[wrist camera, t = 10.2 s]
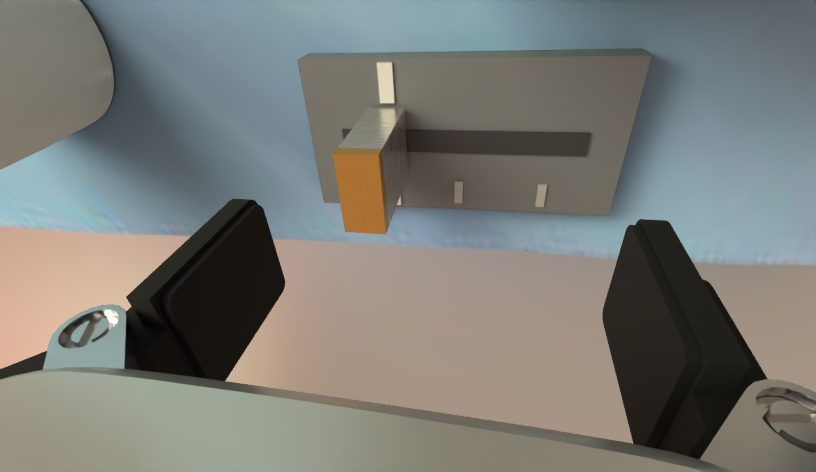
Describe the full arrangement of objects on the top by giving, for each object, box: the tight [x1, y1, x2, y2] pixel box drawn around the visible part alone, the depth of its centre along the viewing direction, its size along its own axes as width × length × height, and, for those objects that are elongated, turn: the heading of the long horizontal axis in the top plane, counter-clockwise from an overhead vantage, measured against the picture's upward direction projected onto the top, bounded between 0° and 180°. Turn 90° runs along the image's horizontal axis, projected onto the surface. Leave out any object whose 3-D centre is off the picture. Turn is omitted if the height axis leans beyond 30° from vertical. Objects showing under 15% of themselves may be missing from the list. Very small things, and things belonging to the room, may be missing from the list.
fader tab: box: [333, 108, 408, 234], centre depth 26 cm, size 2×5×8 cm, turn 2°
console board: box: [298, 49, 652, 216], centre depth 30 cm, size 22×11×2 cm, turn 92°
